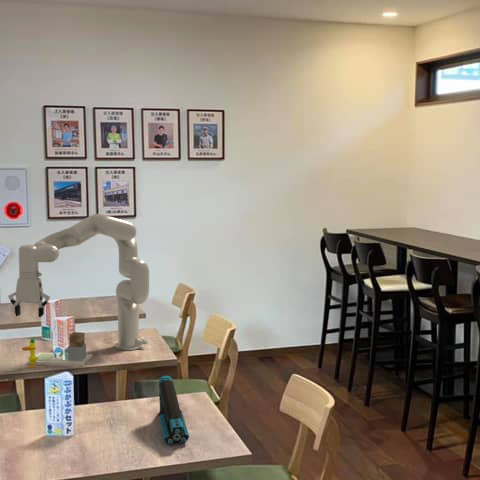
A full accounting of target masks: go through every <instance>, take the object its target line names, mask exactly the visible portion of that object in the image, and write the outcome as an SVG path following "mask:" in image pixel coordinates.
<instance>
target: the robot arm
mask: <svg viewBox="0 0 480 480" xmlns="http://www.w3.org/2000/svg"><path fill="white" fill-rule="evenodd" d="M99 234H100V235H104V236H107V237H111V238H112V239H113V240H114V241H115V242H116V244H117V247H118V272H119V274H120V275H121V276H122V277H124V278H127V279H123V280H121V281H120V282H118V284H117V286H116V289H115V296H116V299H117V342H116V343H115V344H114V348H115V349H116V350H120V351H135V350H139V349H141V348H142V347H143V345H148V339H145V338H144V339H142V338H141V336H140V330H139V328H140V321H139V320H140V315H139V314H140V310H139V309H140V308H139V305H142V304H144V303H145V302H146V301H147V300H148V298H149V296H150V295H149V294H150V270H149V266H148V263H147V262H146V261H144V260H143V259H140V258H139V253H138V244H137V240H136V235H137V228H136V226H135V225H134V223H132V222H129V221H126V220H122V219H119V218H117V217H113V216H110V215H105V214H99V213H93V214H91V215H89V216H87V217H86V218H84V219H82V220H80V221H79V222H77V223H75V224H73V225H71V226H70V227H68V228H65V229H62V230H60V231H57V232H54V233H52V234H49V235H47V236H45V237H44V238H42V239H40V240H38V241H37V242H35V243H34V244H24V245H21V246H19V248H18V272H19V273H18V278H17V281H16V287H15V292H12V293H11V294H8V296H7V297H8V299H9V301H10V303H11V304H12V306H13V307H14V314H15V317H18V316H20V315H21V305H20V304H21V303H23V304H24V303H26V304H37V305H38V318H42V317H43V315H44V314H45V306H46V305H47V304H48V303H49V301H50V299H51V296H49V295H48V294H46V293H45V292H43V291H44V290H43V284H42V283H43V282H42V279H41V277H42V272H40V271H39V263H52V262H53V263H54V262H55V261H57V259H58V258H59V256H60V252H59V250H61V249H64V248H70V247H77V246H80V245H82V244H83V243H85V242H87V241H88V240H90V239H92V238H93V237H95V236H97V235H99ZM14 297H15V299H14ZM43 300H44V301H43Z"/></svg>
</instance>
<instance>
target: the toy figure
mask: <svg viewBox="0 0 480 480" xmlns="http://www.w3.org/2000/svg"><path fill="white" fill-rule="evenodd" d="M21 350H22V351H25V352H26V351H29V353H30V355H29V356H28V361H29V362H30V364H29V365H28V368H29V369H33V368H35V366H34V365H33V364H35V362H36V360H37V359H38V357H36V356H35V355H36V354H35V353H36V351H35V350H37V347H36V342H35V339H34V338H31V339H30V341H29V346H23V347H21Z"/></svg>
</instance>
